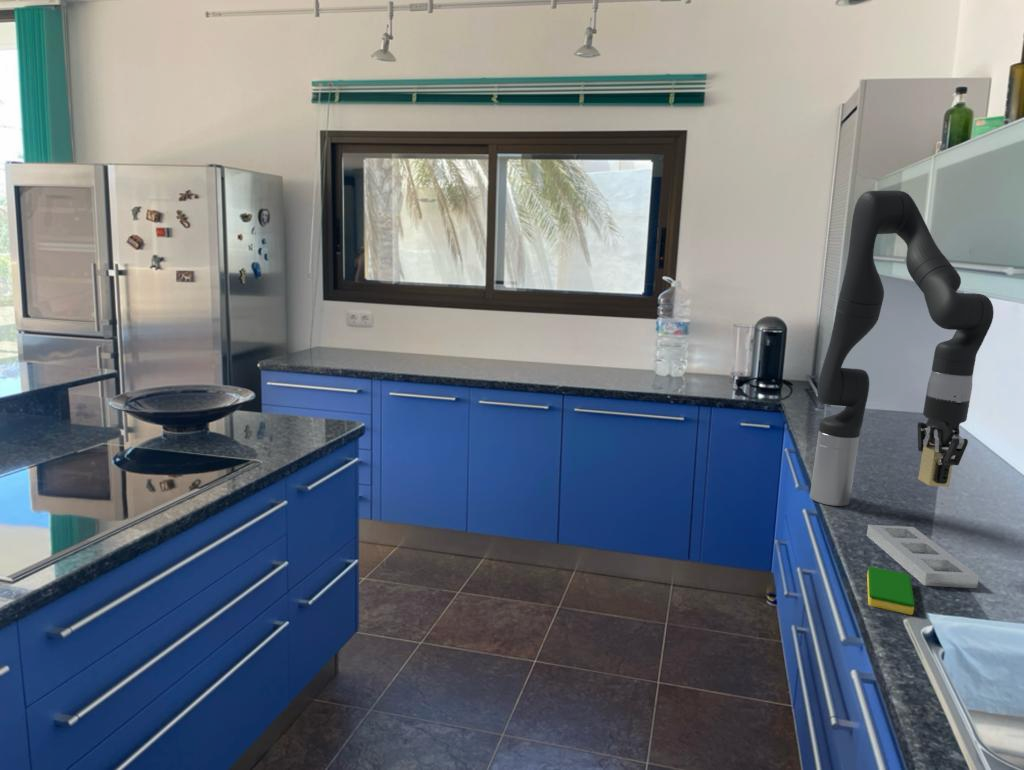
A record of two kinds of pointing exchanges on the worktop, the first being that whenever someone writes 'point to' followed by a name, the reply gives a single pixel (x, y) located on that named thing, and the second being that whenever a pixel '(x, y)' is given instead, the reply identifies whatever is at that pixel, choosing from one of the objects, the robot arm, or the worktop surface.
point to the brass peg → (931, 467)
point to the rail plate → (922, 557)
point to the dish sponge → (890, 590)
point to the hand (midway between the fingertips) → (933, 478)
